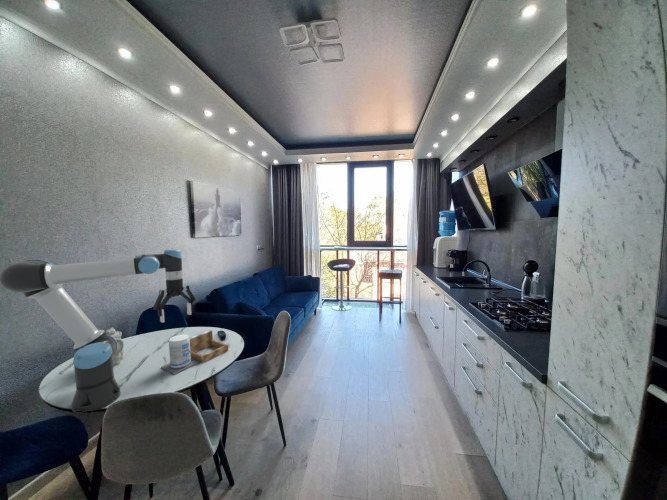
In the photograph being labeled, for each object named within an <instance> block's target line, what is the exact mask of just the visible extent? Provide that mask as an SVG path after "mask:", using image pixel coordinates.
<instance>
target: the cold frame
mask: <svg viewBox="0 0 667 500" xmlns="http://www.w3.org/2000/svg"><path fill="white" fill-rule="evenodd" d="M189 338H190V355H191V359H194V360H196V361H198V362H199V363H202V364H203V363H205V362H207V361H209V360H212V359H214V358H215V357H218V356H220V355H222V354H224V353H226V352H228V351H229V344H227V343H224V342H220V341H218V340H215V339H214V337H213V330H212V329H209V330H206V331H204V332H201V333H199V334H196V335H193V336H191V337H190V336H189ZM208 347H209V348H210V347H214V348H216V349H214V350H212V351H209V352H207V353H204V354H200V353H198V352H199V351H202V350H204V349H207V348H208Z"/></svg>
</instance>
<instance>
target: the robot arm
mask: <svg viewBox="0 0 667 500" xmlns="http://www.w3.org/2000/svg"><path fill="white" fill-rule="evenodd" d="M160 269H165V271H164V272H165V273H164V274H165V279H166V280H165V285H166V286H165V289H160V290H159V291H158V292H159V293H158V297H157V298H156V301H155V303H154V306H153V307H152V310H155V311H157V317H159V322H160V323H165V310H164V309H163V308H165V306H166V305H167V303H168V302H169V300H170V299H172V298H174V297H178V296H181V297H182V298H183V299H184V300H185V301H186V314H187V315H188V316H191V315H192V308H193V303H194V302H195V301H196V299H197V298H196V297H195V296H194V294H193V293H192V291H191V289H190V285H187V284H186V285H184V280H183V259H182V251H181V250H180V249H176V248H175V249H173V248H172V249H164V251H163V253H156V254H155V253H153V254H151V253H150V254H138V255H136V256H134V257H129V258H120V259H119V258H118V259H110V260H108V259H107V260H100V261H99V260H97V261H88V262H77V263H67V264H57V265H56V264H54V263H52V262H50V261H48V260H44V259H28V260H24V261H21V262H17V263H13V264H9V265H8V266H6V267H5V268H4V269H2V271H1V272H0V285H1V286H2V287H3V288H4V289H5V290H7V291H11V292H15V293H23V295H24V296H25V297H26V298H28V299H33V300H35V301H37V303H39V305H40V306H41V307H42V308H43V309H44V310H45V312H47V313H48V315H49V316H50V317H51V318H52V319H53V321H55V322H56V324H57V325H58V327H60V328H61V329H62V330H63V331H64V333H65V334H66V335H67V336H68V337H69V338H70V339H71V340H72V342H73V343H74V345H73V347H72V348H73V350H74V351H75V353H74V354H73V359H72V363H73V368H74V369H73V370H74V377H75V389H76V390H75V393H74V396H73V399H72V402H71V411H72V412H73V413H75V414H86V413H88V412H87V411H91V412H95V411H97V410H100V409H102V408H105V407H106V406H109V405H110V404H112V403H113V402H114V401H115V402H116V400H117V399H118V398H119V397H120V396H121V387H120V385H119V384H118V382H117V380H116V379H115V375H114V374H115V373H114V372H115V371H114V366H113V359H114V356H115V353H116V351H117V341H116V339H115V338H114V337H112V336H110V335H108V334H107V333H106V332H105V331H106V330H104V329H98V328H97V327H96V325H95V324H94V323H93V322H92V321H91V320H90V318H89V317H88V316H87V315H86V314H85V312H84V311H83V310H82V308H80V306H79V305H78V304H77V303H76V302H75V300H73V297H71V296H70V295H69V293H68V292H67V291H66V290H65V288H64V287H63V285H65V284H72V283H78V282H85V281H95V280H100V279H101V280H103V279H110V278H117V277H118V278H119V277H124V276H125V277H126V276H132V275H144V274H147V275H150V274H151V275H152V274H153V273H156V272H157V271H158V270H160ZM184 290H185V293H186V294H187V295H186V294H185V293H184ZM165 294H166V295H165ZM164 296H165V297H164ZM76 411H82V412H76Z"/></svg>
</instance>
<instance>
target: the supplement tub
mask: <svg viewBox="0 0 667 500" xmlns="http://www.w3.org/2000/svg"><path fill="white" fill-rule="evenodd" d="M168 348H169V349H168V350H169V363H170V366H171V367H172V368H181V367H184V366H186V365H188V364H189V363H190V362H191V359H192V358H191V355H190V335H189V334H186V333H185V334H177V335H175V336H172V337H171V338H169V340H168Z"/></svg>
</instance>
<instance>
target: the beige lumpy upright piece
mask: <svg viewBox="0 0 667 500" xmlns="http://www.w3.org/2000/svg"><path fill="white" fill-rule="evenodd" d="M104 331H105V332H106V333H107V334H108V335H110V336H112V337H114V338H115V339H116V341H117V351H116V353H115V356H114V359H113V367H116V366H117V365H119V364H121V360H123V359H124V351H125V350H124V345H125V344H124V339H122V335H123V333H122V331H118V330H116V329H115V328H114V327H110V328H108V329H106V330H104Z"/></svg>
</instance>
